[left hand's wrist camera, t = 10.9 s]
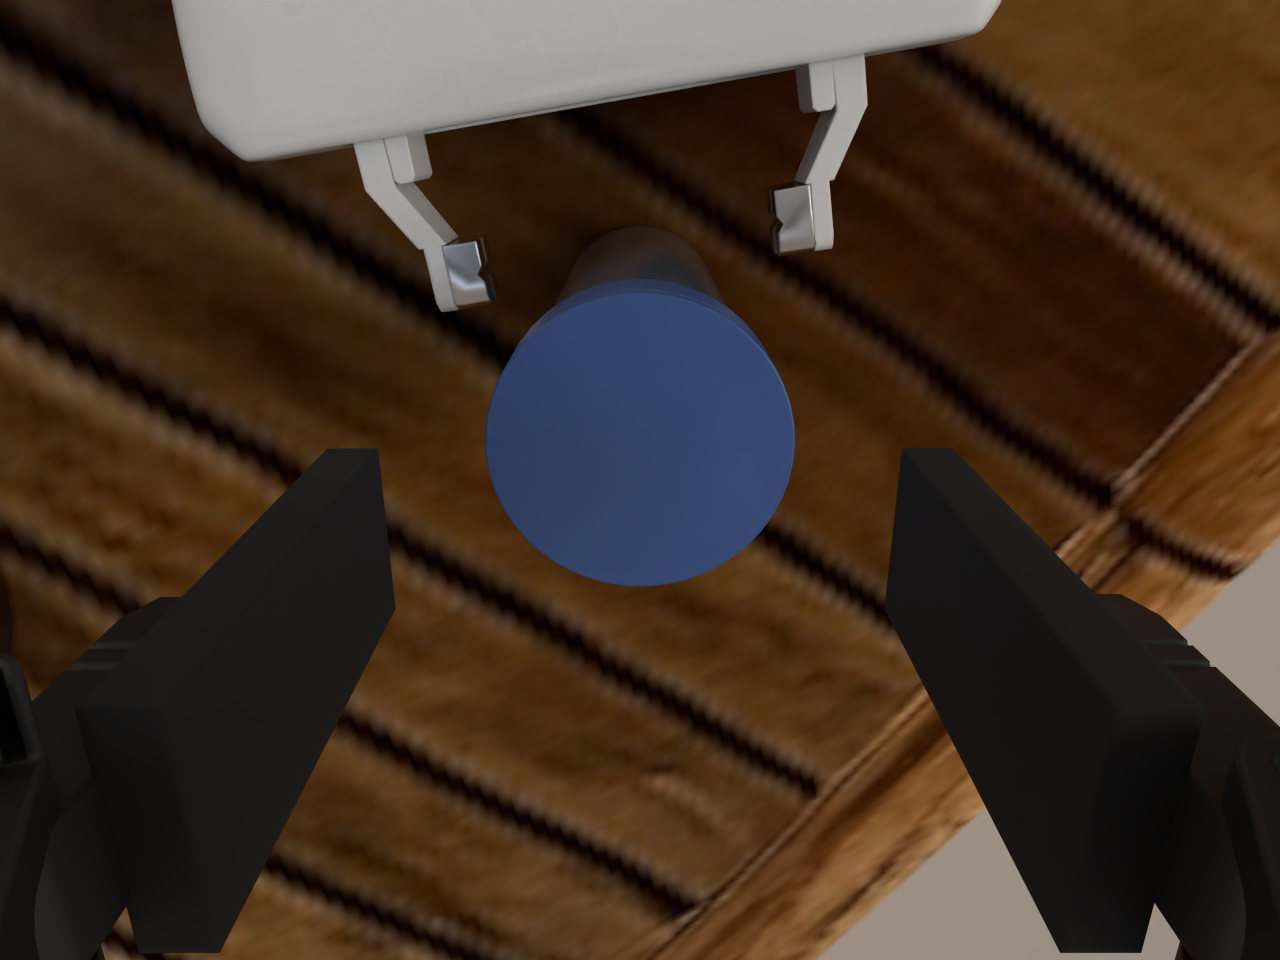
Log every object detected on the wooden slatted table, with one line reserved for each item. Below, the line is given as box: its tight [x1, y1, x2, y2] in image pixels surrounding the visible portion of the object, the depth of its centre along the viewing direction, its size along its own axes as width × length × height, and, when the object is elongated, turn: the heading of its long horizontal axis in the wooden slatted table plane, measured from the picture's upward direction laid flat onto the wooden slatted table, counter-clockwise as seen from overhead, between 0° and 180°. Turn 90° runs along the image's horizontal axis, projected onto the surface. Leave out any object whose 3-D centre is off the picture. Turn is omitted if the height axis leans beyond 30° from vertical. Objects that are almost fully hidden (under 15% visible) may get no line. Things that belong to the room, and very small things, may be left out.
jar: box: [554, 226, 726, 306], centre depth 25 cm, size 5×5×15 cm
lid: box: [485, 279, 795, 586], centre depth 18 cm, size 6×6×2 cm
